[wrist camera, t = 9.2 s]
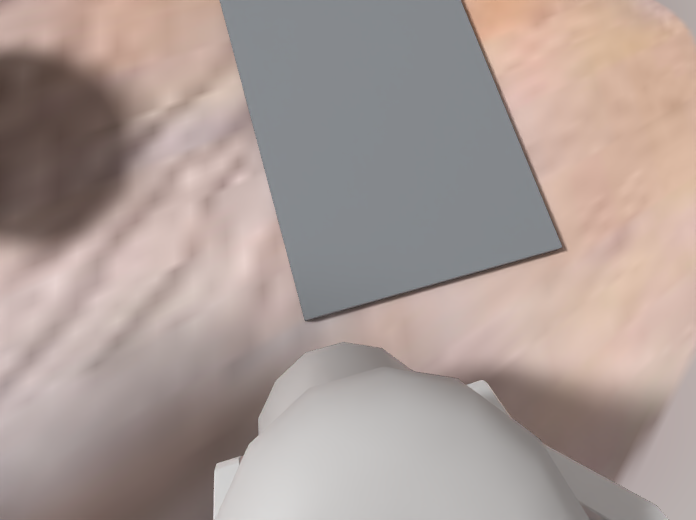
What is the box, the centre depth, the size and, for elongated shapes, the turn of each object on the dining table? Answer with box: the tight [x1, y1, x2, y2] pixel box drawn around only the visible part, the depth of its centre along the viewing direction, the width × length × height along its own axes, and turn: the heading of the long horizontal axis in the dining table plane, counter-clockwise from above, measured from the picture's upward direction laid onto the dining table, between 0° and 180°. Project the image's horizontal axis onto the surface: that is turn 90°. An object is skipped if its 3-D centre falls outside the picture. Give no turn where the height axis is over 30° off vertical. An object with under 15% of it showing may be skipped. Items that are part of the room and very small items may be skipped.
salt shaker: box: [215, 342, 590, 520], centre depth 10 cm, size 6×6×13 cm
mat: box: [220, 0, 562, 321], centre depth 25 cm, size 20×14×1 cm
